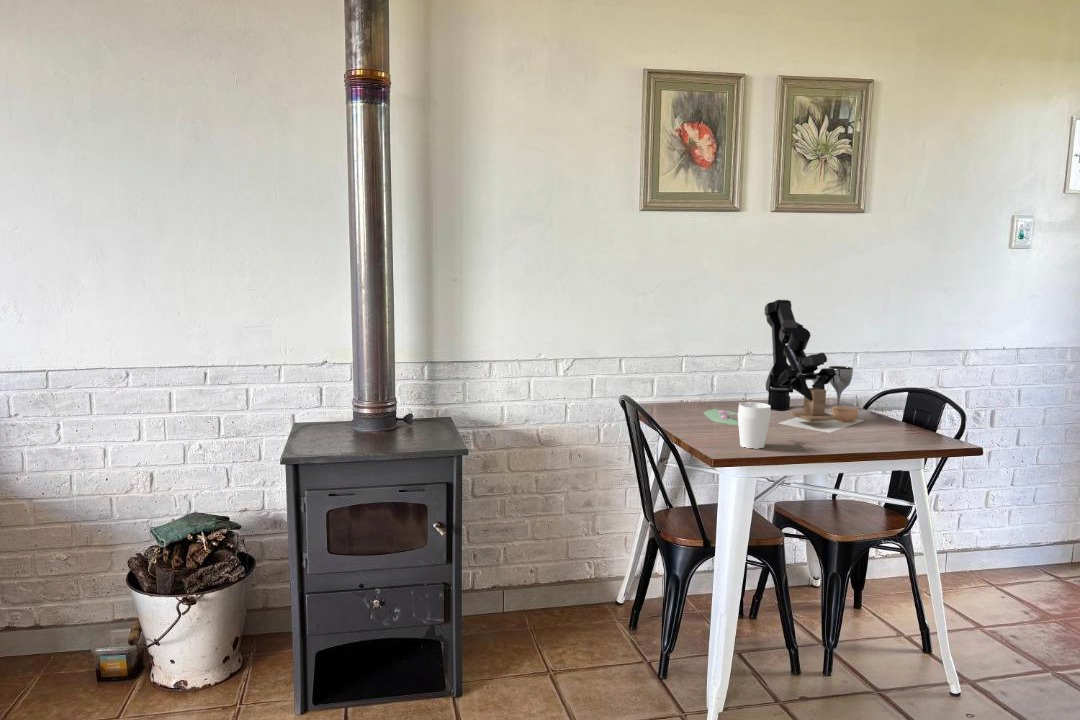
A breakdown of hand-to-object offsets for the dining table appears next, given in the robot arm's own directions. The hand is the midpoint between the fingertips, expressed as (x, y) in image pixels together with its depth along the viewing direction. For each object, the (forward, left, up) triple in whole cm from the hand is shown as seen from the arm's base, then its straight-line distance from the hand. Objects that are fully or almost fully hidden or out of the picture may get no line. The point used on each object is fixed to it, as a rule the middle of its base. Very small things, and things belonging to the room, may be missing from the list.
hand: (817, 399), depth 249 cm
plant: (-26, -5, -10) cm, 29 cm away
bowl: (+3, +15, -8) cm, 17 cm away
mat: (-1, +7, -9) cm, 12 cm away
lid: (-1, +1, -6) cm, 6 cm away
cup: (-2, -36, -10) cm, 37 cm away
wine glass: (-8, +35, -10) cm, 37 cm away
